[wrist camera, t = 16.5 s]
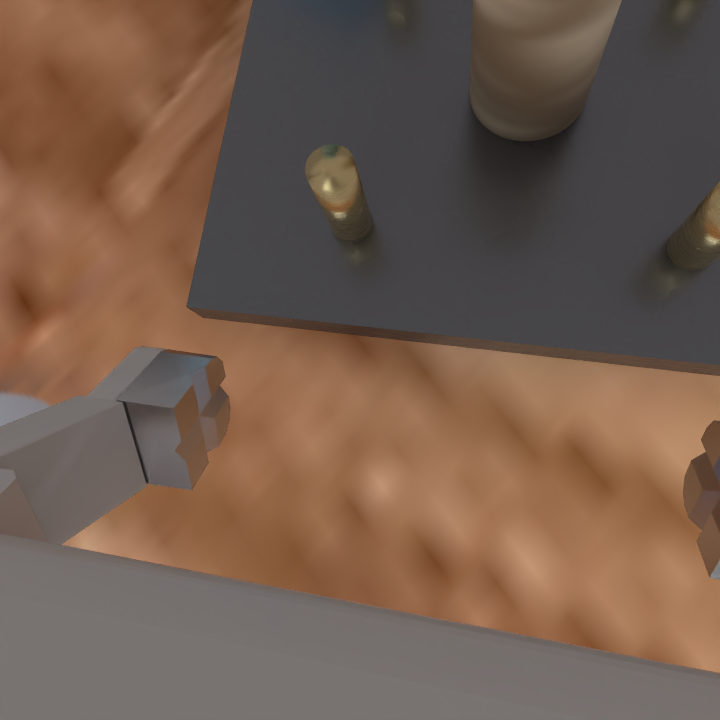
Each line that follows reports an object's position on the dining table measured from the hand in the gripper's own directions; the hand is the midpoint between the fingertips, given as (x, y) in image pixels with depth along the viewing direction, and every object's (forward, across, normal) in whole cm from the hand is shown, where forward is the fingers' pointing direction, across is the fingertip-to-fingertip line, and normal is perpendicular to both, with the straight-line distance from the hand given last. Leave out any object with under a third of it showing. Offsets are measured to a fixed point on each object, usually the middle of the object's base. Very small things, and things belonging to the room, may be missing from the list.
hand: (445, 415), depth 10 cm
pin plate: (+18, -2, -2) cm, 18 cm away
